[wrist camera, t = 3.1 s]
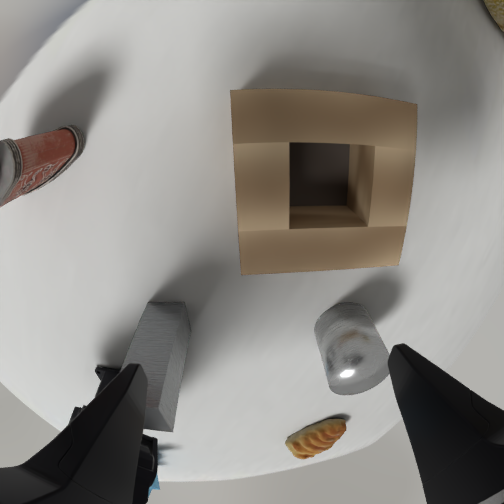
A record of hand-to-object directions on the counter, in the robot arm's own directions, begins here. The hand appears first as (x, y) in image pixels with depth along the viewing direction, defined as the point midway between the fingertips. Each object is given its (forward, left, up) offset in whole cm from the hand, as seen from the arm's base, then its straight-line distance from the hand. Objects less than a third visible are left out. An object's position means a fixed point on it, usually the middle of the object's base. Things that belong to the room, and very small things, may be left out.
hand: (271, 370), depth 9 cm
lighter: (+7, +16, -12) cm, 21 cm away
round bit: (-10, -7, -12) cm, 17 cm away
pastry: (-32, -8, -12) cm, 35 cm away
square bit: (-8, +8, -12) cm, 16 cm away
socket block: (+4, -4, -12) cm, 13 cm away
